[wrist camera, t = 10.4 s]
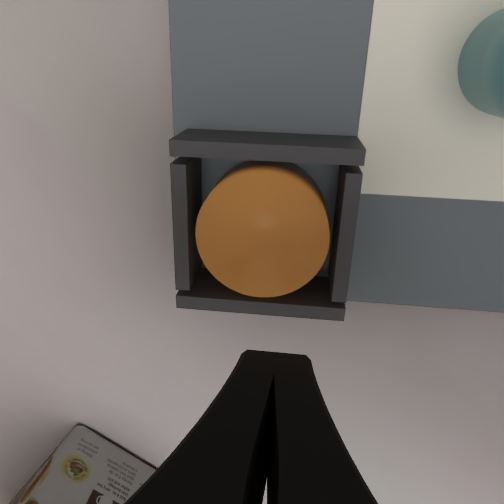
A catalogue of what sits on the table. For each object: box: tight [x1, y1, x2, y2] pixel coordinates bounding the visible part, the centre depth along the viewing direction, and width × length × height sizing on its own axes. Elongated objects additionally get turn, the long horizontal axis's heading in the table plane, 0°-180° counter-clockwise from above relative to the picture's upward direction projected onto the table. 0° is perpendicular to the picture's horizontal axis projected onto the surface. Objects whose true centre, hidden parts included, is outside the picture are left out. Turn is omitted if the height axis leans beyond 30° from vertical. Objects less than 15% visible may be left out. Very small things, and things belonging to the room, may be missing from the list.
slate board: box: [169, 0, 504, 321], centre depth 14 cm, size 20×14×3 cm
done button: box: [195, 160, 330, 297], centre depth 16 cm, size 4×4×2 cm
